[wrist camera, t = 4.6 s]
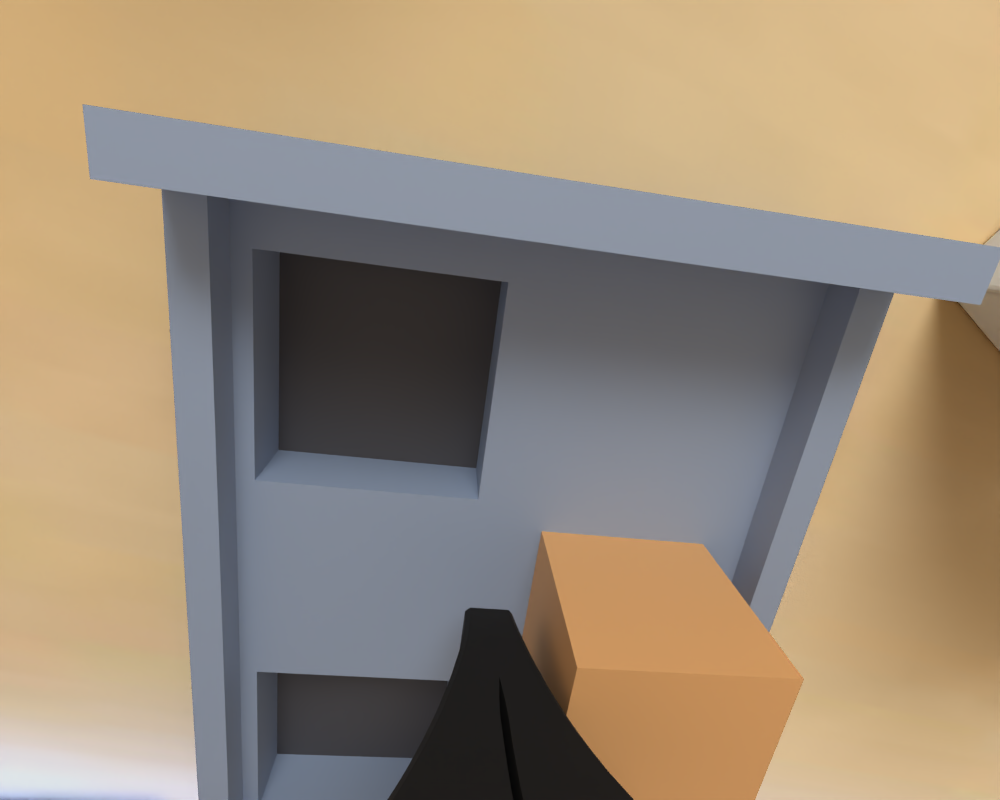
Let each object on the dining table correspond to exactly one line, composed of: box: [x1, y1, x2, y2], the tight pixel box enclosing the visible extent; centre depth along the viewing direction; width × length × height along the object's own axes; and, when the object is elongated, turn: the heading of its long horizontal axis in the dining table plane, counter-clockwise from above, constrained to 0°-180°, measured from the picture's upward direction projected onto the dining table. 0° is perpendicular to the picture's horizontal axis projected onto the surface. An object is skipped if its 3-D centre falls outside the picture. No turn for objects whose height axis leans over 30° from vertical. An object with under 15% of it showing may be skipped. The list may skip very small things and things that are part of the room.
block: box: [522, 531, 804, 800], centre depth 13 cm, size 4×4×4 cm
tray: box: [83, 104, 1000, 800], centre depth 14 cm, size 20×15×5 cm
